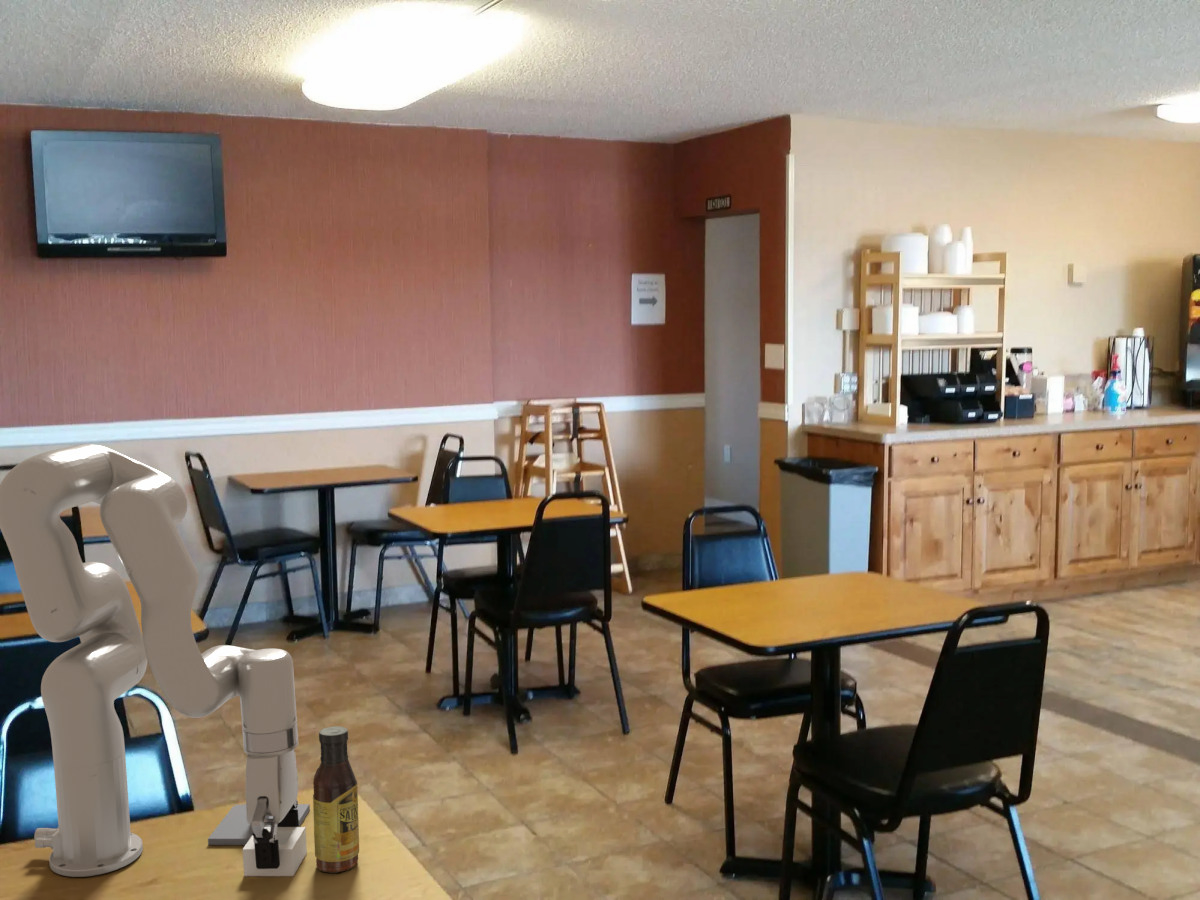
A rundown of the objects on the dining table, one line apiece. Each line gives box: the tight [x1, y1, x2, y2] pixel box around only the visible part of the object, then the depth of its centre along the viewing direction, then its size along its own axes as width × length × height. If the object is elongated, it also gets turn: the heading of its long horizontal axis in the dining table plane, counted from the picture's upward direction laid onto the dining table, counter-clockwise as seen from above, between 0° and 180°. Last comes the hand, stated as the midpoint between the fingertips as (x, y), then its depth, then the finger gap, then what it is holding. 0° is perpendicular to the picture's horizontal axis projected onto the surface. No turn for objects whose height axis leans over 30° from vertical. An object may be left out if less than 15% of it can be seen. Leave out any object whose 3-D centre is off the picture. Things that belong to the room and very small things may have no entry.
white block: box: [242, 826, 308, 877], centre depth 170 cm, size 7×7×4 cm
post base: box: [207, 803, 311, 846], centre depth 182 cm, size 12×12×7 cm
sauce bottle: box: [312, 725, 360, 874], centre depth 169 cm, size 7×6×20 cm
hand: (278, 851), depth 170 cm, fingers open, 9 cm apart
